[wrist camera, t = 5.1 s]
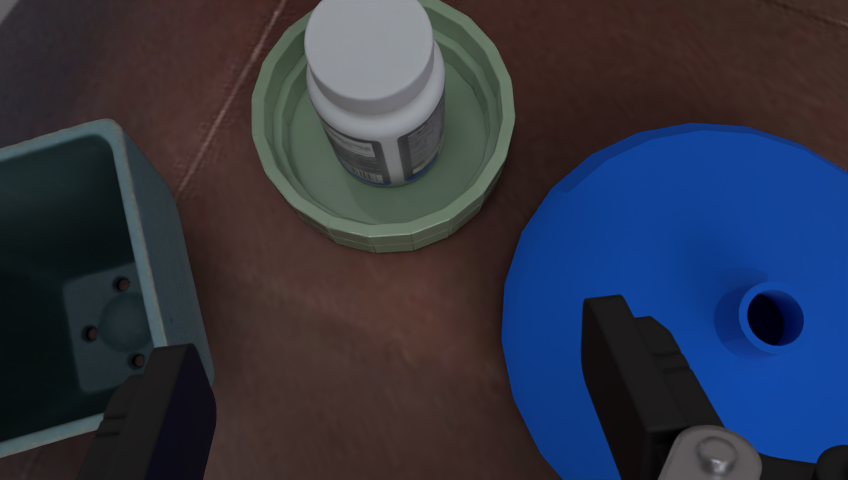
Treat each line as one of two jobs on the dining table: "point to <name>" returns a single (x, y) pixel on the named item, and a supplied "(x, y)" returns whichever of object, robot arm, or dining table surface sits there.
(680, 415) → the robot arm
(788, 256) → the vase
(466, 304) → the dining table surface
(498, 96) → the bowl
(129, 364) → the flower pot
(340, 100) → the pill bottle
